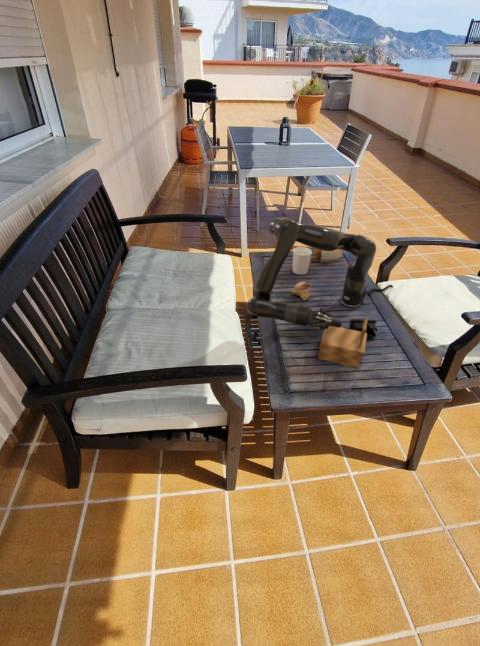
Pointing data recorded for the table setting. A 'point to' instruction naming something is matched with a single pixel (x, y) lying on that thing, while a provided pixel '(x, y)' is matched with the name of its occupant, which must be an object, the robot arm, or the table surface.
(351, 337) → the box lid
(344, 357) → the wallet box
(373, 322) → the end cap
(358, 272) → the robot arm
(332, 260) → the nautilus
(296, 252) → the candle holder
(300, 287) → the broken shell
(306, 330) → the table surface
